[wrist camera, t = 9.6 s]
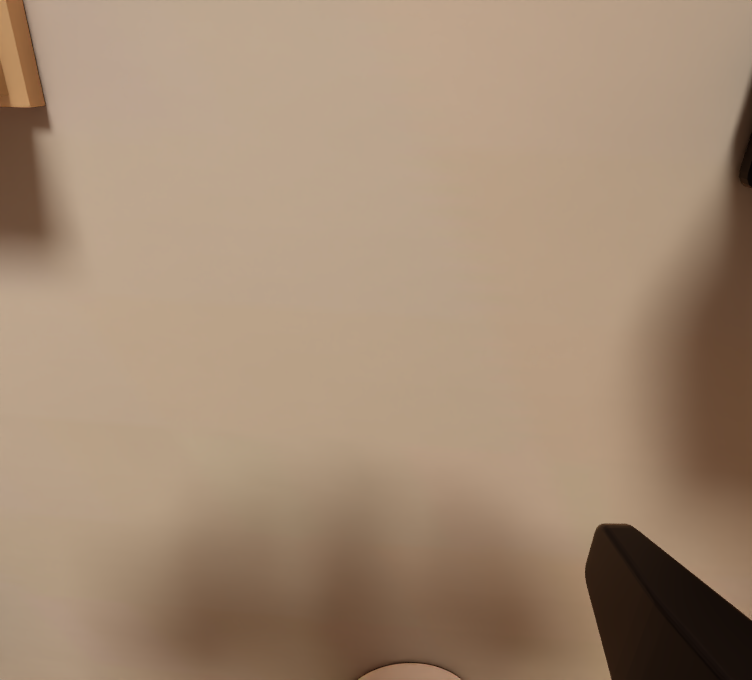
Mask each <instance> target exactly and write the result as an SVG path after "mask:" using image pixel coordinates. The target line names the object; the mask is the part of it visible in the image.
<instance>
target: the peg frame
mask: <svg viewBox="0 0 752 680" xmlns="http://www.w3.org/2000/svg"><path fill="white" fill-rule="evenodd" d="M38 106H45V102H44V97H43V93H42V88H41V84H40V79H39V75H38V70H37V65H36V61H35V56H34V52H33V47H32V43H31V38H30V33H29V29H28V24H27V20H26V15H25V11H24V6H23V1H22V0H0V107H30V108H31V107H38Z"/></svg>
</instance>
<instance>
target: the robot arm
mask: <svg viewBox="0 0 752 680" xmlns="http://www.w3.org/2000/svg"><path fill="white" fill-rule="evenodd" d="M739 178H740V181H741V183H742V184H743V185H744V186H746V187H749V188H752V134H751V137H750V140H749V143H748V146H747V150H746V153H745V156H744V159H743V162H742V166H741V169H740V174H739ZM585 578H586V584H587V588H588V592H589V596H590V599H591V603H592V607H593V611H594V615H595V618H596V622H597V626H598V630H599V634H600V637H601V641H602V645H603V649H604V652H605V656H606V660H607V664H608V668H609V671H610V675H611V679H612V680H752V620H750V619H749V618H748V617H747V616H745V615H744V614H743V613H742V612H740V611H739V610H738V609H737V608H735V607H734V606H733V605H732V604H730V603H729V602H728V601H727V600H725V599H724V598H723V597H721V596H720V595H719V594H718V593H716V592H715V591H714V590H713V589H711V588H710V587H709V586H708V585H706V584H705V583H704V582H703V581H701V580H700V579H699V578H698V577H696V576H695V575H694V574H692V573H691V572H690V571H689V570H687V569H686V568H685V567H684V566H682V565H681V564H680V563H679V562H677V561H676V560H675V559H674V558H672V557H671V556H670V555H669V554H667V553H666V552H665V551H663V550H662V549H661V548H660V547H658V546H657V545H656V544H655V543H653V542H652V541H651V540H650V539H648V538H647V537H646V536H645V535H643V534H642V533H641V532H640V531H638V530H637V529H636V528H634V527H633V526H631V525H628V524H601V525H599V526H598V527H597V528H596V531H595V533H594V537H593V540H592V544H591V548H590V551H589V555H588V558H587V562H586V567H585Z"/></svg>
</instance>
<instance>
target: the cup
mask: <svg viewBox="0 0 752 680" xmlns="http://www.w3.org/2000/svg"><path fill="white" fill-rule="evenodd" d="M358 680H461V679H460V678H458V677H457V676H456V675H454V674H452V673H451V672H449V671H447V670H444V669H442V668H439V667H436V666H432V665H427V664H419V663H402V664H394V665H389V666H385V667H382V668H378V669H376V670H373V671H371V672H369V673H367V674H366V675H364V676H362V677H361V678H359V679H358Z"/></svg>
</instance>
